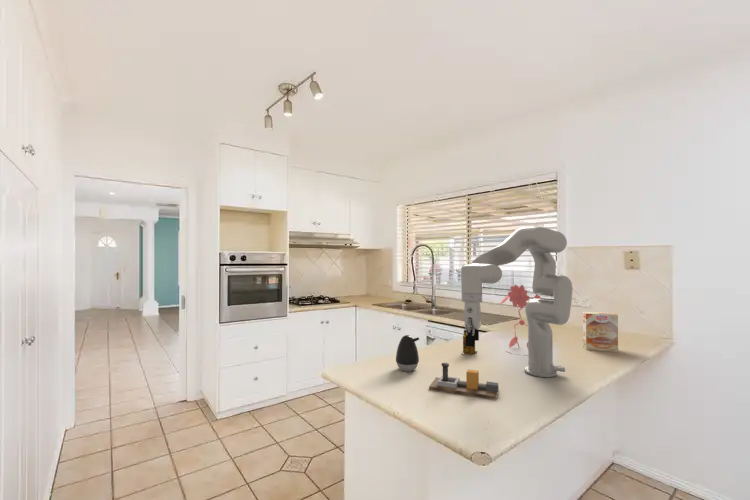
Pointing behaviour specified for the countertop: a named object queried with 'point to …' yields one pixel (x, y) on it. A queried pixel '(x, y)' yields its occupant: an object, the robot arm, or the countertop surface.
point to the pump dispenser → (407, 353)
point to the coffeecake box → (600, 331)
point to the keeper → (460, 389)
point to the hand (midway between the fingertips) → (472, 343)
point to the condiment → (467, 349)
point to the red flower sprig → (518, 297)
